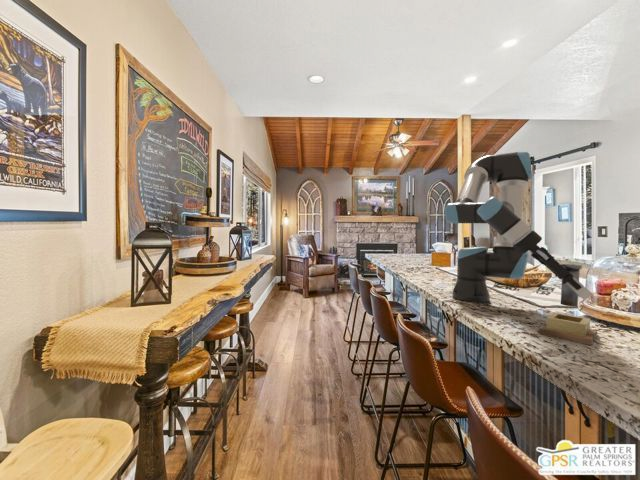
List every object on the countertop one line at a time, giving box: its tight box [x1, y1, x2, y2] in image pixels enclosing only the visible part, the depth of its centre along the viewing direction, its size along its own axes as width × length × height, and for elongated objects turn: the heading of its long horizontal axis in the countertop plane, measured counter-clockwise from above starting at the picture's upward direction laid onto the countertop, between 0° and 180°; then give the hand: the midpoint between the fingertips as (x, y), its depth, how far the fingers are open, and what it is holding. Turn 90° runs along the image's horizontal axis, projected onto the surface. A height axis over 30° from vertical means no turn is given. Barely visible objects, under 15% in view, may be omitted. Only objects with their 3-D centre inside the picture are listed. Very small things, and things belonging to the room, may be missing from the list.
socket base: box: [538, 322, 598, 346], centre depth 94 cm, size 12×12×2 cm
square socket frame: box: [546, 311, 591, 337], centre depth 94 cm, size 9×9×4 cm
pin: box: [560, 263, 582, 307], centre depth 93 cm, size 5×5×12 cm
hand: (585, 295), depth 91 cm, fingers closed on pin, 4 cm apart
